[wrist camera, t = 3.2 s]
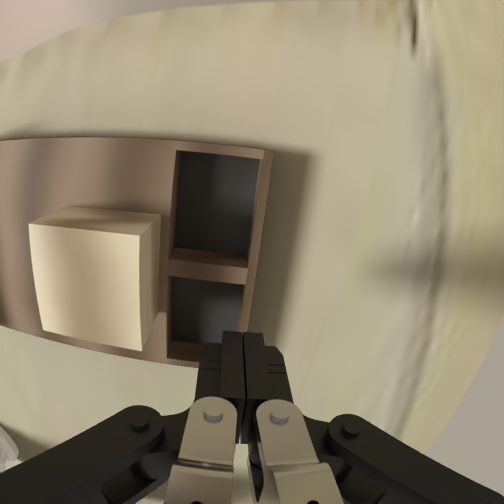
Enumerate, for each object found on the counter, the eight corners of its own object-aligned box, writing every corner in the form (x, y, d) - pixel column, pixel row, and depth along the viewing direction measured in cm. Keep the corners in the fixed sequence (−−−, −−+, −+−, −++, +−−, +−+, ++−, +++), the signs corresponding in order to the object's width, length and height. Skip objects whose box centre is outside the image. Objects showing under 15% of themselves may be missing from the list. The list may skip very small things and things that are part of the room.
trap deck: (269, 150, 18) (281, 152, 13) (240, 350, 23) (241, 403, 17) (-18, 142, 16) (-67, 149, 11) (-4, 305, 21) (-39, 336, 16)
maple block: (161, 214, 17) (139, 235, 13) (158, 312, 19) (141, 351, 15) (66, 206, 16) (28, 223, 12) (72, 297, 18) (43, 329, 14)
